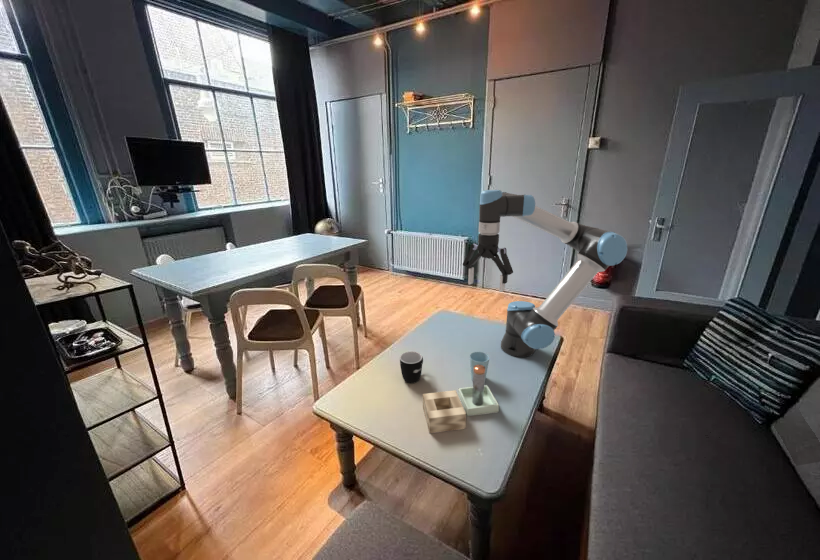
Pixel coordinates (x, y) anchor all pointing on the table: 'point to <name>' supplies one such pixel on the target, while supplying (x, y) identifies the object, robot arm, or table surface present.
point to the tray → (471, 409)
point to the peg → (478, 385)
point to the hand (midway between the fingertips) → (485, 287)
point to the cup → (479, 361)
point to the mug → (411, 366)
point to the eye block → (443, 411)
